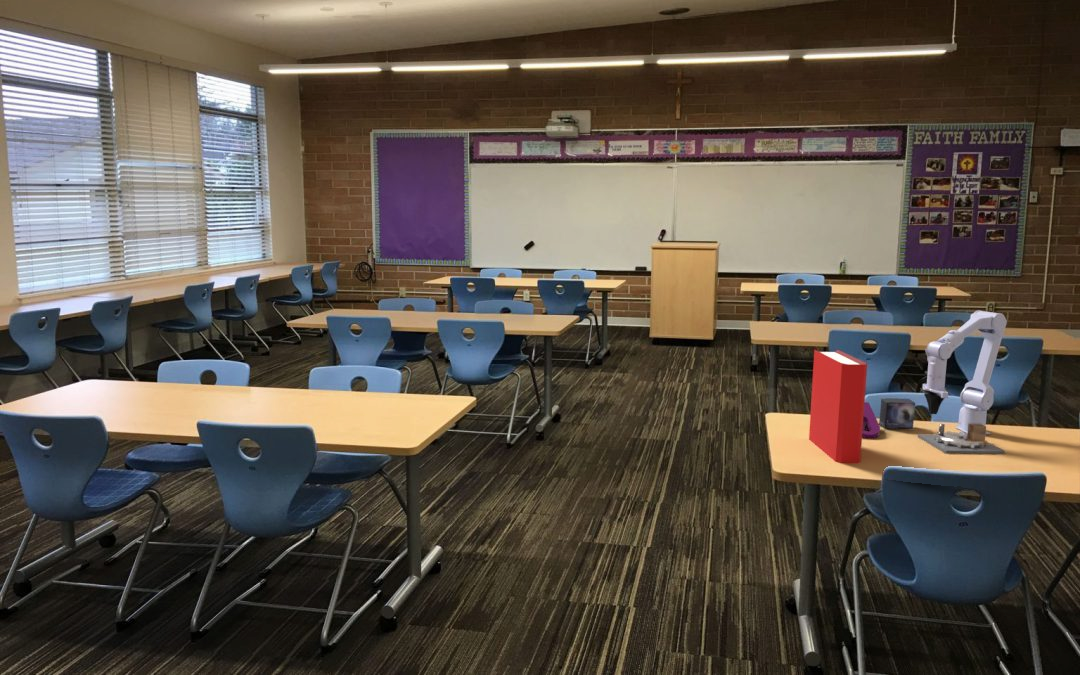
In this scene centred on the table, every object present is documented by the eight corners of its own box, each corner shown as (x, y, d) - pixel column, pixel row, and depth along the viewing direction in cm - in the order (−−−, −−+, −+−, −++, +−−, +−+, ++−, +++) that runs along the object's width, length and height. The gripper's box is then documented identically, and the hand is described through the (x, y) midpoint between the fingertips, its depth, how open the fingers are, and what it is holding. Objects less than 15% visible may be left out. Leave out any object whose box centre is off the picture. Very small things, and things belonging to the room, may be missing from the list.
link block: (967, 437, 292) (968, 423, 291) (978, 437, 292) (979, 423, 291) (973, 440, 288) (974, 426, 287) (984, 440, 288) (986, 426, 287)
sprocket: (925, 435, 300) (926, 420, 299) (970, 435, 301) (972, 420, 300) (948, 448, 284) (950, 433, 283) (996, 448, 285) (997, 433, 284)
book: (808, 439, 298) (814, 349, 293) (831, 439, 298) (837, 349, 293) (837, 463, 271) (843, 364, 266) (861, 463, 271) (869, 364, 266)
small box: (884, 429, 312) (886, 401, 310) (878, 425, 318) (880, 397, 317) (913, 430, 312) (916, 402, 310) (906, 425, 318) (909, 398, 316)
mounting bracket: (878, 452, 304) (863, 419, 318) (883, 434, 299) (868, 402, 314) (851, 452, 304) (838, 419, 319) (856, 434, 299) (843, 401, 314)
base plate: (917, 437, 302) (918, 420, 301) (972, 437, 303) (974, 420, 302) (945, 453, 282) (947, 436, 281) (1004, 453, 283) (1006, 436, 282)
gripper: (915, 371, 305) (912, 408, 307) (935, 380, 290) (931, 418, 293) (934, 371, 305) (931, 408, 307) (955, 380, 291) (952, 418, 293)
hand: (933, 413), depth 300 cm, fingers closed
